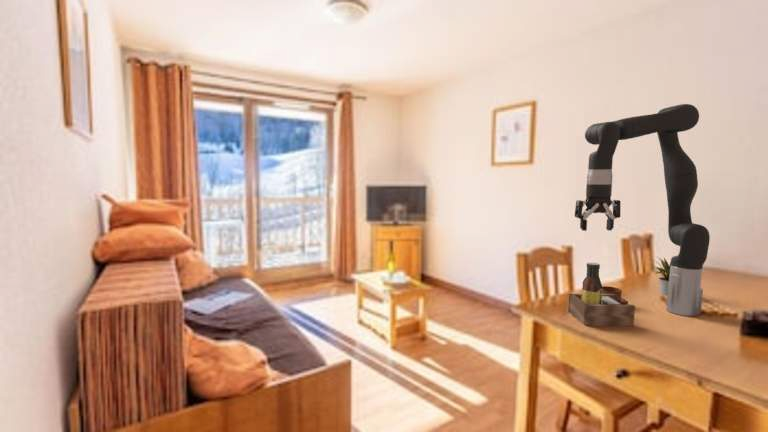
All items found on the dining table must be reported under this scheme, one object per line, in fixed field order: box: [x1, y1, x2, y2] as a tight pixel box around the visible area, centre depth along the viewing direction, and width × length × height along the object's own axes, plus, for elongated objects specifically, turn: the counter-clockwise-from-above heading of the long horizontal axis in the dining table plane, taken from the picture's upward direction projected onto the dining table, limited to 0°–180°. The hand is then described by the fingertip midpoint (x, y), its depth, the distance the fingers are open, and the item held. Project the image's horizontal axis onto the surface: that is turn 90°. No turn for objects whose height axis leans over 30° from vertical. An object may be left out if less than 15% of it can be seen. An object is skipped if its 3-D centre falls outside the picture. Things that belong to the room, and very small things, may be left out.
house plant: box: [649, 256, 671, 296], centre depth 163 cm, size 14×14×16 cm
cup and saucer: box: [602, 285, 629, 305], centre depth 150 cm, size 12×12×6 cm
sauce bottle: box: [581, 262, 603, 305], centre depth 134 cm, size 6×6×20 cm
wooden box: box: [567, 293, 636, 327], centre depth 135 cm, size 16×12×7 cm
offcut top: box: [601, 296, 621, 305], centre depth 135 cm, size 4×8×4 cm, turn 178°
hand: (596, 230), depth 132 cm, fingers open, 8 cm apart
